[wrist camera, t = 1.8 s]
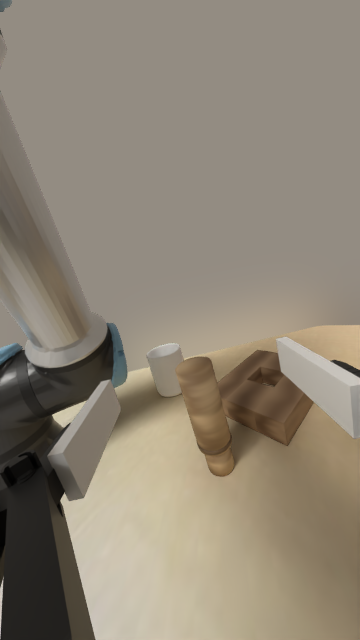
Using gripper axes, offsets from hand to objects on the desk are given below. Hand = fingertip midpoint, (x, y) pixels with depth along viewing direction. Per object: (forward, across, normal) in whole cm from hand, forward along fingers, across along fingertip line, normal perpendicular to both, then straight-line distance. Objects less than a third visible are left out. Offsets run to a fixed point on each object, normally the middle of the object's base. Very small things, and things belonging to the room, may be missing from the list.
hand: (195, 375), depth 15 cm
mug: (+34, -8, -20) cm, 41 cm away
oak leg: (+10, 0, -20) cm, 22 cm away
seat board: (+22, +13, -20) cm, 32 cm away
